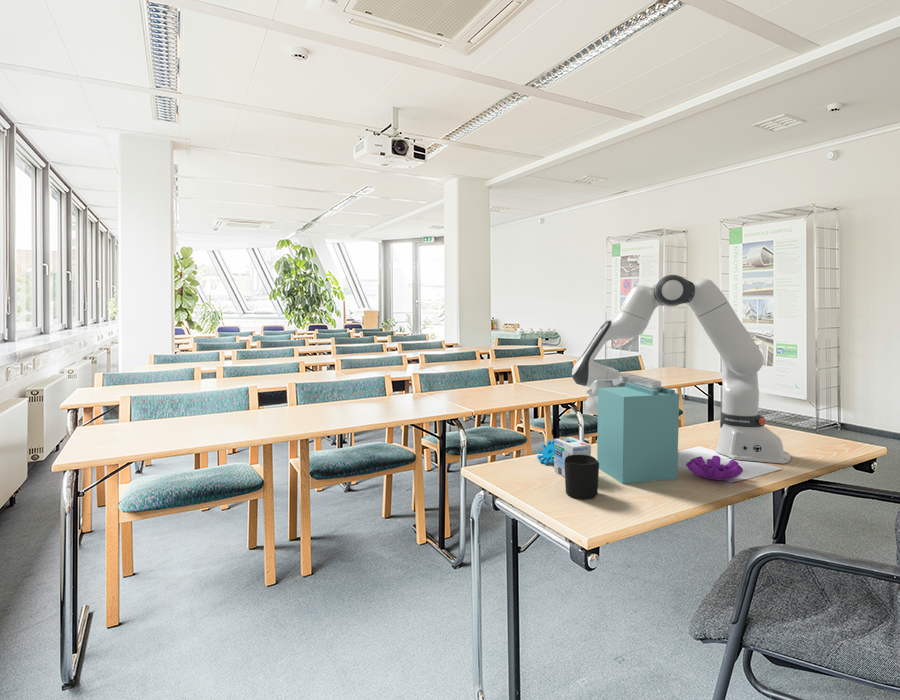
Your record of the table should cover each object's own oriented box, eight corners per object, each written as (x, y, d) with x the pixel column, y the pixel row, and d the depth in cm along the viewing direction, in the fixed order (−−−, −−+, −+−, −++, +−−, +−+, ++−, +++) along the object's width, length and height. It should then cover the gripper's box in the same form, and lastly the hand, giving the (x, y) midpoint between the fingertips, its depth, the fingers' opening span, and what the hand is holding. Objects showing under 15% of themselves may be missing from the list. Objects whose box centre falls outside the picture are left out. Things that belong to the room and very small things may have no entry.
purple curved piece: (693, 482, 166) (703, 454, 169) (744, 495, 154) (753, 465, 157) (679, 466, 160) (689, 438, 163) (730, 479, 148) (740, 448, 151)
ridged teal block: (597, 467, 171) (598, 384, 169) (647, 463, 175) (649, 381, 172) (622, 483, 156) (623, 392, 153) (677, 478, 159) (679, 389, 157)
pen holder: (604, 493, 149) (605, 458, 148) (588, 503, 142) (589, 466, 141) (574, 485, 155) (574, 452, 154) (558, 495, 148) (558, 460, 147)
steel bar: (618, 382, 179) (618, 373, 179) (626, 381, 180) (626, 372, 179) (652, 391, 159) (652, 381, 159) (660, 391, 160) (661, 381, 160)
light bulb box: (553, 471, 168) (553, 438, 167) (571, 468, 170) (571, 436, 169) (572, 482, 158) (572, 446, 157) (591, 479, 160) (591, 444, 159)
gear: (531, 454, 181) (551, 433, 182) (541, 464, 183) (560, 443, 184) (547, 468, 171) (568, 445, 172) (557, 478, 173) (578, 456, 174)
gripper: (582, 385, 186) (598, 370, 174) (635, 382, 190) (654, 367, 178) (586, 402, 183) (603, 388, 171) (639, 399, 187) (660, 385, 175)
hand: (629, 378), depth 174 cm, fingers closed on steel bar, 3 cm apart
